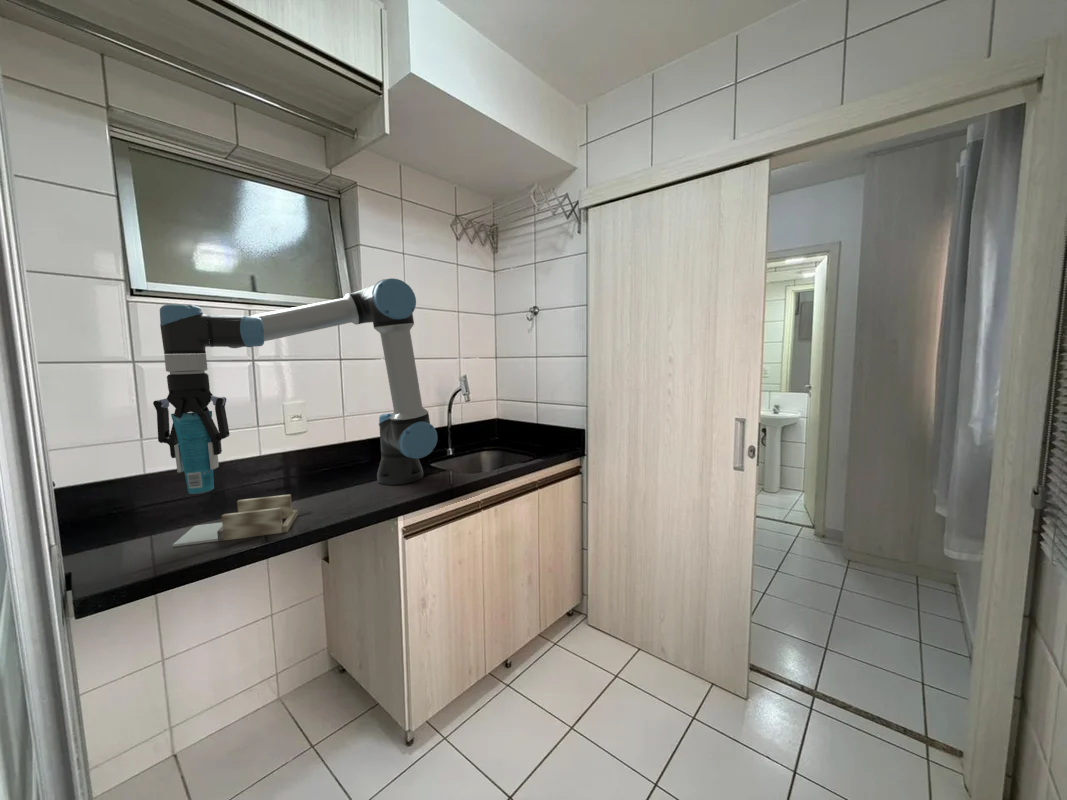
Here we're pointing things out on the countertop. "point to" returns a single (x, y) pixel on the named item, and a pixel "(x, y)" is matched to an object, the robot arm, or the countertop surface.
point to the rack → (258, 518)
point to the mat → (200, 535)
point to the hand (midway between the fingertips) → (198, 469)
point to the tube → (194, 452)
